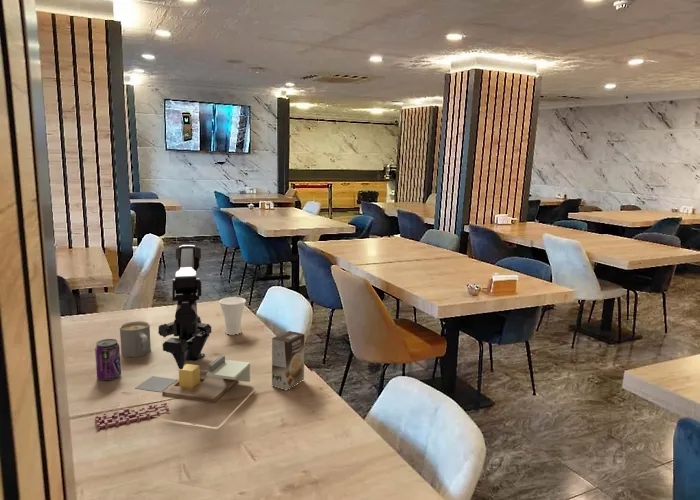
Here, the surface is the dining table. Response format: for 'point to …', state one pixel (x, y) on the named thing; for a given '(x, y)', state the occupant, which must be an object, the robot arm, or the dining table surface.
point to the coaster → (156, 384)
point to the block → (189, 376)
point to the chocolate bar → (129, 416)
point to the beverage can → (107, 359)
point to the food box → (287, 359)
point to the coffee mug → (135, 339)
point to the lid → (229, 369)
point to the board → (201, 388)
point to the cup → (232, 314)
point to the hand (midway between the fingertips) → (189, 363)
